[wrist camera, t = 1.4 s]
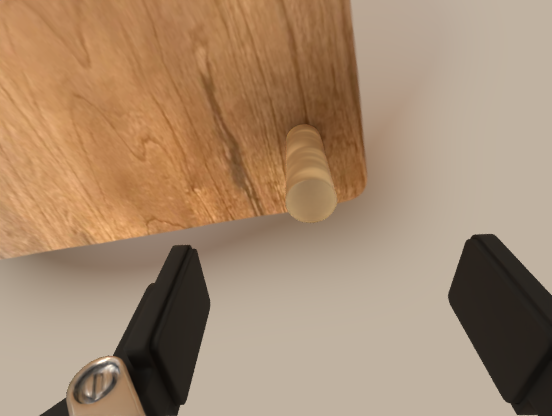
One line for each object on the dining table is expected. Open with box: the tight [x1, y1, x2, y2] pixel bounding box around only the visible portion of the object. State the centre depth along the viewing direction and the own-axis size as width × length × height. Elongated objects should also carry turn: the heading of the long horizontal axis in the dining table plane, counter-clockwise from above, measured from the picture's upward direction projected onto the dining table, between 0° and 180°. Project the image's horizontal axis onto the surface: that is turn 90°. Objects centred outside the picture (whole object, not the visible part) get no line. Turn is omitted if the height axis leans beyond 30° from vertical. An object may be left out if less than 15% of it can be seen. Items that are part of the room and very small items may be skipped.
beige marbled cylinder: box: [286, 124, 337, 223], centre depth 27 cm, size 4×4×12 cm
